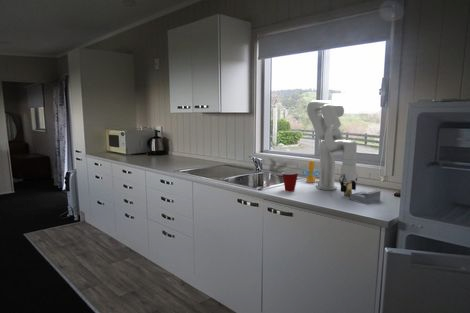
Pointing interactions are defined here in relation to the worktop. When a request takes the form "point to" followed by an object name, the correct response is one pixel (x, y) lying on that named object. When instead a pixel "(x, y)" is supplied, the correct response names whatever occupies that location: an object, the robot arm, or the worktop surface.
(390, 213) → the worktop surface
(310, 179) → the toy airplane
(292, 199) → the worktop surface
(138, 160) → the worktop surface
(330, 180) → the robot arm
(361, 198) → the jig
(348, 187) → the bushing
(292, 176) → the plastic cup
